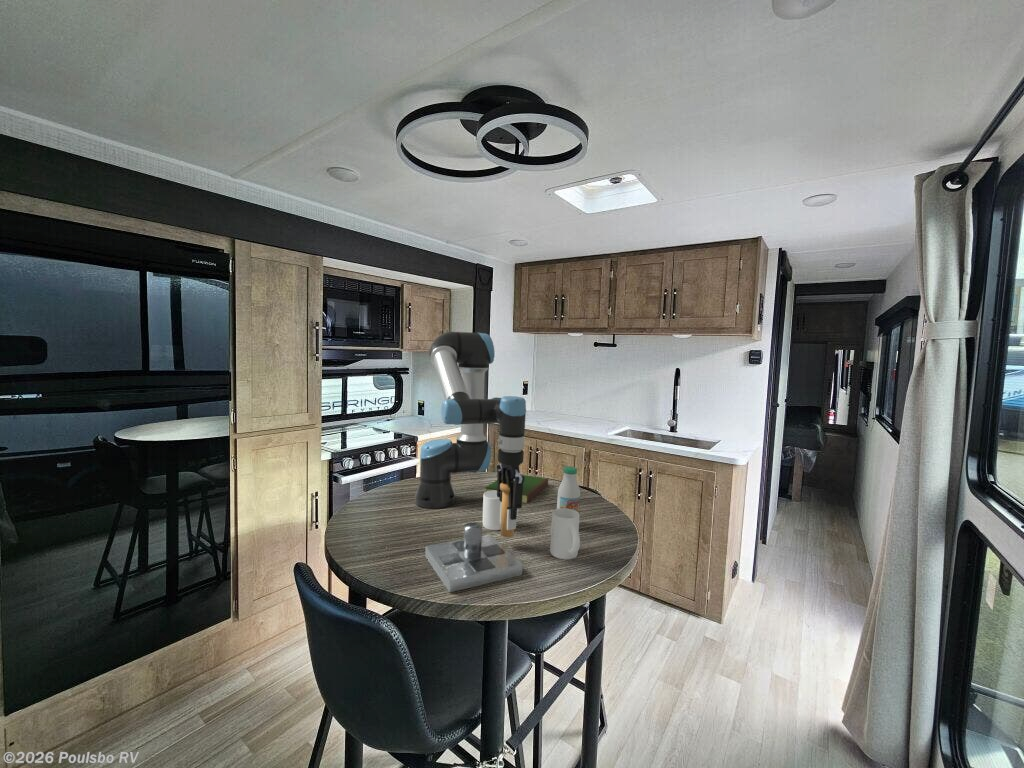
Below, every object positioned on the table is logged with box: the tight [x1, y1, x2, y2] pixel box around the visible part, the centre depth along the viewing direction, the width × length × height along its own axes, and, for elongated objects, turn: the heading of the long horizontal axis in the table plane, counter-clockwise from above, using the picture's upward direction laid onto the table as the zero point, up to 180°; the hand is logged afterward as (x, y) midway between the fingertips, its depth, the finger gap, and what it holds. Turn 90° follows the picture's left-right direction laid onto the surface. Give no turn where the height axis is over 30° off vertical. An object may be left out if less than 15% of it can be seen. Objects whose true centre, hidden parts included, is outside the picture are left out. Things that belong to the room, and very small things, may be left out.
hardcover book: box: [484, 474, 549, 504], centre depth 183 cm, size 25×19×4 cm
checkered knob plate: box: [424, 522, 523, 593], centre depth 118 cm, size 20×20×11 cm
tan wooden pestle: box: [500, 483, 515, 538], centre depth 130 cm, size 6×6×15 cm
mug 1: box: [482, 490, 520, 531], centre depth 145 cm, size 9×12×11 cm
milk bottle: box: [556, 465, 581, 519], centre depth 147 cm, size 8×8×20 cm
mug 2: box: [549, 508, 581, 560], centre depth 125 cm, size 8×12×12 cm
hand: (507, 525), depth 130 cm, fingers closed on tan wooden pestle, 4 cm apart
